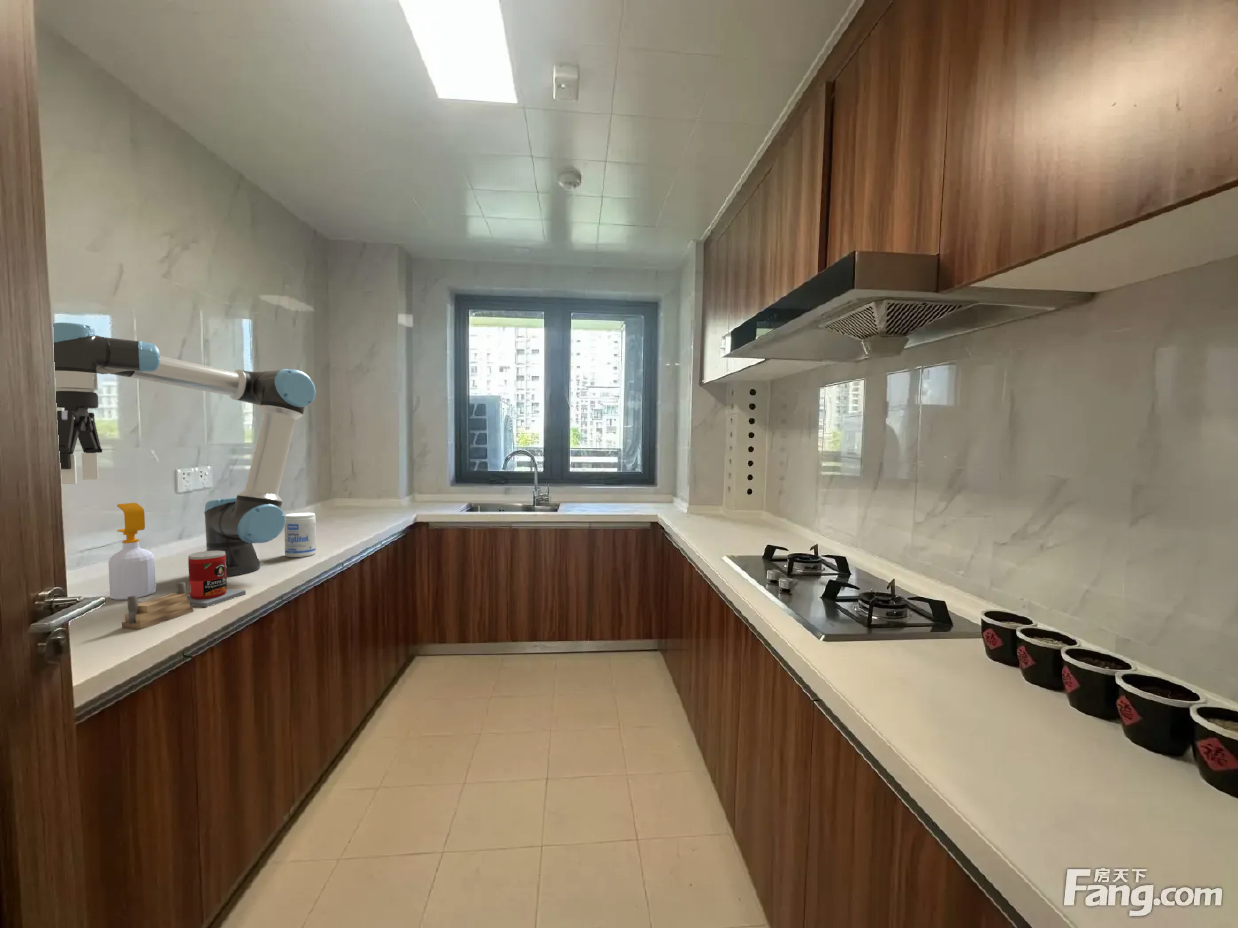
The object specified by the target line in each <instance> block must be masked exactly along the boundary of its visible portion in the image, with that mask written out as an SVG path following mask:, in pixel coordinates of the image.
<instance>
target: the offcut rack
mask: <svg viewBox="0 0 1238 928" xmlns="http://www.w3.org/2000/svg"><path fill="white" fill-rule="evenodd" d="M187 595H188V594H187V591H186V582H183V581H182V582H178V583H176V592H172V593H168V594H166V595H163V596H162V595H161V596H159V597H156V598H153V599H150V600H146V601H143V602H140V603H139V602H138V599H139V598H138V597H137V596H129V597H128V599H127V608H128V609H127V613H125V614H124V619H125V620H124V621H122V622H121V628H122V629H132V630H143V629H146V628H148V627H152V626H154V625H157V624H161V623H163V621H164V622H166V620H167V621H170V620H172V619H173V620H174V619H176V618H179V617H181V616H184V614H185V615H188V614H190V613H189V612H191V613H193V612H194V606H190V600H187ZM187 613H188V614H187ZM169 619H170V620H169ZM160 622H161V623H160Z"/></svg>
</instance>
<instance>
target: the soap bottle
mask: <svg viewBox="0 0 1238 928" xmlns="http://www.w3.org/2000/svg"><path fill="white" fill-rule="evenodd" d="M116 507H117V508H118V509H120V510H121V511H122V512H123V516H124V518H123V519H124V528H120V529H117V532H119V533H123V535H124V536H126V538H125V539H122V549H120V550H119V551H117V552H116V553H114V554H113V555H112V556H111V557H110V558H109V560H108V562H107V563H108V564H107V565H108V579H109V580H108V581H109V598H110V599H111V600H115V601H116V600H117V601H125V600H127V601H128V597H129V596H137V597H138V599H140V598H144V597H147V596H150V595H152V594H154V593H156V591H157V586H156V566H155V565H156V564H155V562H156V561H155V555H154V554H153V553H152V552H151V551H149V550H147V549H144V548H142V547H140V539H139V538H136V535H137V534H138V531H144V530H145V528H146V521H145V520H146V519H145V516H146V515H145V510H144V508H143V506H141V505H140V504H138V503H137V502H129V503H128V502H127V503H117V505H116Z"/></svg>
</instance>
